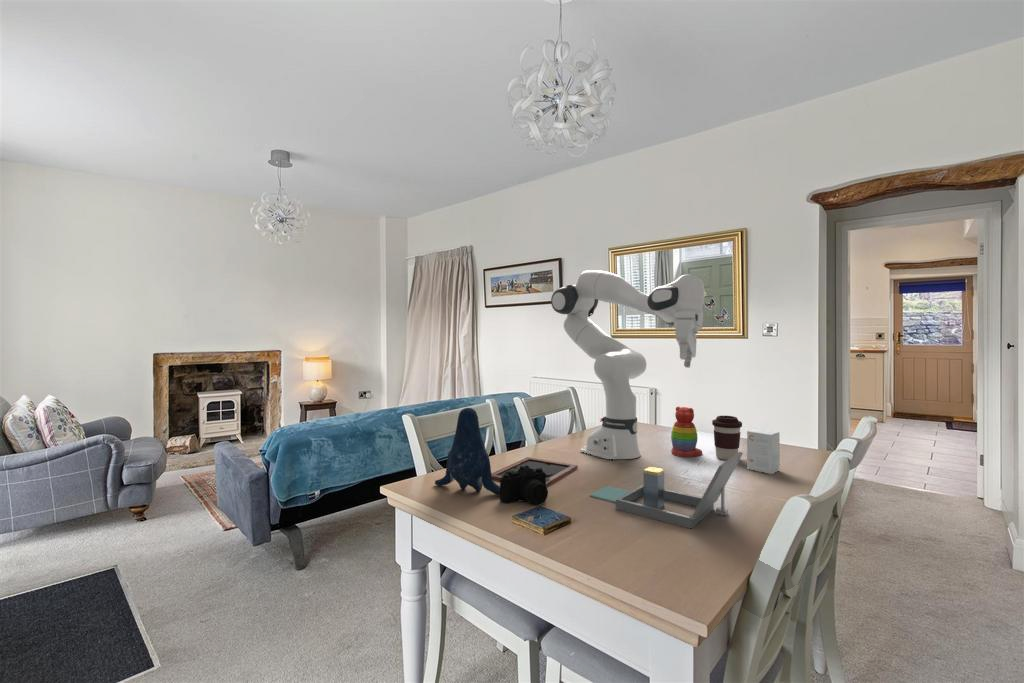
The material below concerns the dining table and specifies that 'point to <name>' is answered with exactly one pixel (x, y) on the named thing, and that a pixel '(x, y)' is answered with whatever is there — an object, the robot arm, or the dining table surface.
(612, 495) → the pad
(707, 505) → the case
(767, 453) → the small box
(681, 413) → the stacking bear
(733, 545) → the dining table surface
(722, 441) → the coffee cup
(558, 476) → the picture frame
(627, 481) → the dining table surface
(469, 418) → the dark blue plush toy
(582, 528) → the dining table surface
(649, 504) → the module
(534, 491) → the film camera
